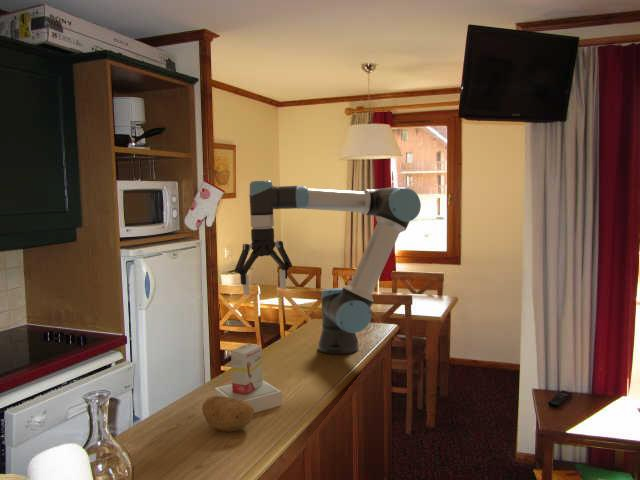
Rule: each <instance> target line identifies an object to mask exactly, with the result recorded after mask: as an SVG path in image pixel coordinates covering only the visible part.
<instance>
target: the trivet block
mask: <svg viewBox="0 0 640 480" xmlns="http://www.w3.org/2000/svg"><path fill="white" fill-rule="evenodd" d="M214 395H215V396H222V397H229V398H235V399H238V400H241V401H245V402H248V403H249V404H250V405H251V406H252V407H253V409H254V414H255V413H259V412H261V411H266V410H270V409H274V408H277V407H279V406H283V403H282V402H283V401H282V400H283V399H282V390H280V389H278V388H276V387H275V386H273V385H272V384H270V383H269V382H267V381H265V380H263V385H262V386H260V387H258V388H257V389H255V390H253V391H252V392H250V393H248V394H247V395H245V394H240V393H235V392H232V383H230V384H226V385H223V386H221V385H220V386H218V387H214Z"/></svg>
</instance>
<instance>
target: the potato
mask: <svg viewBox="0 0 640 480" xmlns="http://www.w3.org/2000/svg"><path fill="white" fill-rule="evenodd" d="M201 410H202V414H203V416H204V418H205V420H206V422H207V424H208V425H209V426H211V427H213V428H215V429H217V430H219V431H221V432H224V433H229V432H234V431H238V430H241V429H244V428H245V427H247V426H248V425H249V424H250V423H251V422H252V421H253V419H254V416H255V413H254V409H253V407H252V406H251V405H250V404H249V403H248V402H245V401H241V400H238V399H235V398H229V397H222V396H211V397H208V398H207V399H206V400H205V401H204V402H203V403H202V407H201Z"/></svg>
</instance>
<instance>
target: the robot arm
mask: <svg viewBox="0 0 640 480" xmlns="http://www.w3.org/2000/svg"><path fill="white" fill-rule="evenodd" d="M248 195H249V207H250V208H249V210H250V211H249V212H250V227H251V228H252V229H250V230H251V231H250V234H251V236H250V237H251V244H249V243H243V244H242V250H241V254H240V255H239V259H238V261H237V264H236V266H235V268H234V273H235V274H239V275H240V284H241V285H242V288H243V289H242V290H243V294H244V295H245V296H246V295H247V296H248V295H250V281H249V280H250V279H249V278H250V277H249V274H248V272H249V270H250V269H251V267H252V265H254V262H255V261H256V259H258V258H259V257H265V256H266V257H269V256H270V257H271V258H272V259H273V261H275V262H276V265H278V266H279V268H281V269H279V273H278V274H279V276H278V277H279V289H280V290H281V289H282V290H286V289H287V287H286V282H287V281H286V280H287V279H288V270H289V269H290V268H292V267H293V264H292V262H291V260H290V258H289V256H288V254H287V252H286V249H285V248H284V242H283V241H282V240H277V241H275V229H274V228H273V227H274V226H275V222H274V221H275V220H274V219H275V218H274V210H290V209H298V210H299V209H302V210H317V211H318V210H320V211H334V212H335V211H339V212H355V213H356V212H357V213H361V214H362V215H363V216H373V217H375V220H376V222H377V223H376V226H375V227H374V229H373V231H372V234H371V236H370V238H369V240H368V242H367V245H366V248H365V250H364V252H363V254H362V256H361V258H360V261H359V263H358V265H357V267H356V269H355V271H354V273H353V275H352V278H351V281H350V282H349V284H347V285H345V286H343V287H333V288H325V289H323V290H322V291H321V298H320V300H321V320H322V329H321V333H320V337H319V341H318V344H317V345H318V350H319V351H320V353H324V354H327V355H347V354H352V353H355V352H357V351H358V350H359V341H358V338H357V335H356V334H357V333H360V332H362V331H364V330H365V329H366V328H367V327H368V326H369V324H370V322H371V320H372V311H371V308H372V306H373V303H374V297H373V293H374V290H375V288H376V286H377V284H378V282H379V279H380V277H381V276H382V272H383V270H384V268H385V266H386V264H387V262H388V259H389V257H390V254H391V253H392V250H393V248H394V246H395V244H396V242H397V239H398V238H399V235H400V233H402V232H405V231H406V230H407V228H408V226H409V224H410V222H411V221H413V220H415V219H416V218H417V217H418V216H419V214H420V212H421V206H422V202H421V200H420V198H419V195H418V193H417V192H416V191H415V190H413V189H412V188H409V187H405V186H398V187H385V188H384V187H383V188H375V189H369V188H365V189H364V190H362V191H359V190H358V191H357V190H339V189H326V188H311V187H310V188H308V187H307V186H305V185H285V186H281V185H280V186H279V185H278V186H274V185H273V182H272V180H253V181H251V182H250V183H249V194H248ZM275 248H276V249H277V251H278V253H279V255H280V256H279V255H278V254H277V252H276V251H275ZM251 250H252V252H251V253H250V256H249V252H250V251H251ZM248 256H249V257H248ZM280 257H281V258H280ZM247 258H248V259H247Z"/></svg>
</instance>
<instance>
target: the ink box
mask: <svg viewBox="0 0 640 480" xmlns="http://www.w3.org/2000/svg"><path fill="white" fill-rule="evenodd" d="M262 354H263V353H262V345H257V344H253V343H246V344H244V345H241V346H238V347H237V348H235V349H232V350H231V353H230V356H231V358H230V359H231V360H230V361H231V384H232V392H235V393H240V394H245V395H247V394H248V393H250V392H252V391H253V390H255V389H257V388H258V387H260V386H262V385H263V377H264V376H263V359H262V358H263V355H262Z"/></svg>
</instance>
